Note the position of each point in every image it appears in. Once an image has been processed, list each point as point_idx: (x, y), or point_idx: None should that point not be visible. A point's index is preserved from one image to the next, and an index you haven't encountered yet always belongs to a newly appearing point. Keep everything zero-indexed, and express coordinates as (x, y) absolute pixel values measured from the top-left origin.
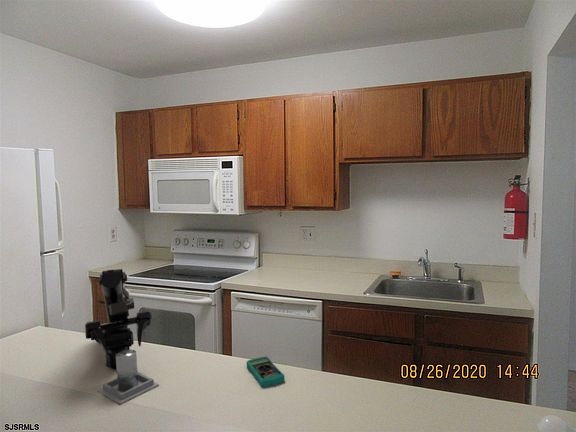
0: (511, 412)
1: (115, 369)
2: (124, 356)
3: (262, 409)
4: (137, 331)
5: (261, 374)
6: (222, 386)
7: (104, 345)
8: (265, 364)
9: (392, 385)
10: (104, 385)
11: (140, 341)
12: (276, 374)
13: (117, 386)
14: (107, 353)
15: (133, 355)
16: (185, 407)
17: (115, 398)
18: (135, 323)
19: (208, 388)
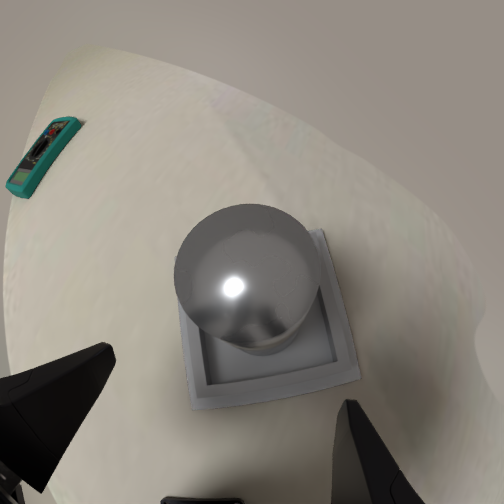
0: (72, 52)
1: (241, 501)
2: (274, 222)
3: (134, 84)
4: (39, 443)
5: (60, 130)
6: (100, 156)
7: (373, 442)
8: (28, 159)
9: (49, 87)
10: (347, 354)
11: (87, 350)
12: (55, 123)
13: (293, 353)
14: (344, 404)
15: (219, 213)
16: (199, 128)
17: (327, 267)
18: (1, 487)
19: (118, 164)
